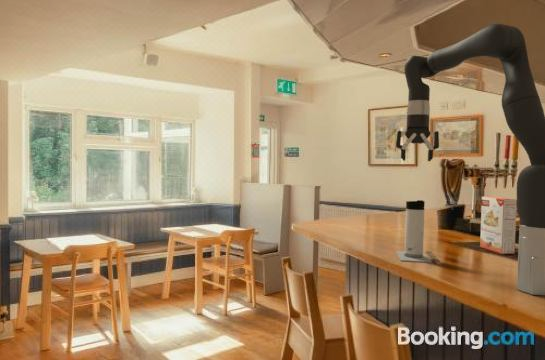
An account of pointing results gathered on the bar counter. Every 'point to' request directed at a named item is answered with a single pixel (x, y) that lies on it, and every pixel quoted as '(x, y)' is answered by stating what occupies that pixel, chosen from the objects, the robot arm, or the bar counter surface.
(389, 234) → the bar counter surface
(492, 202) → the cracker box
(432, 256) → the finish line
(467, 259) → the bar counter surface
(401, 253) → the mat
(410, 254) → the travel mug
